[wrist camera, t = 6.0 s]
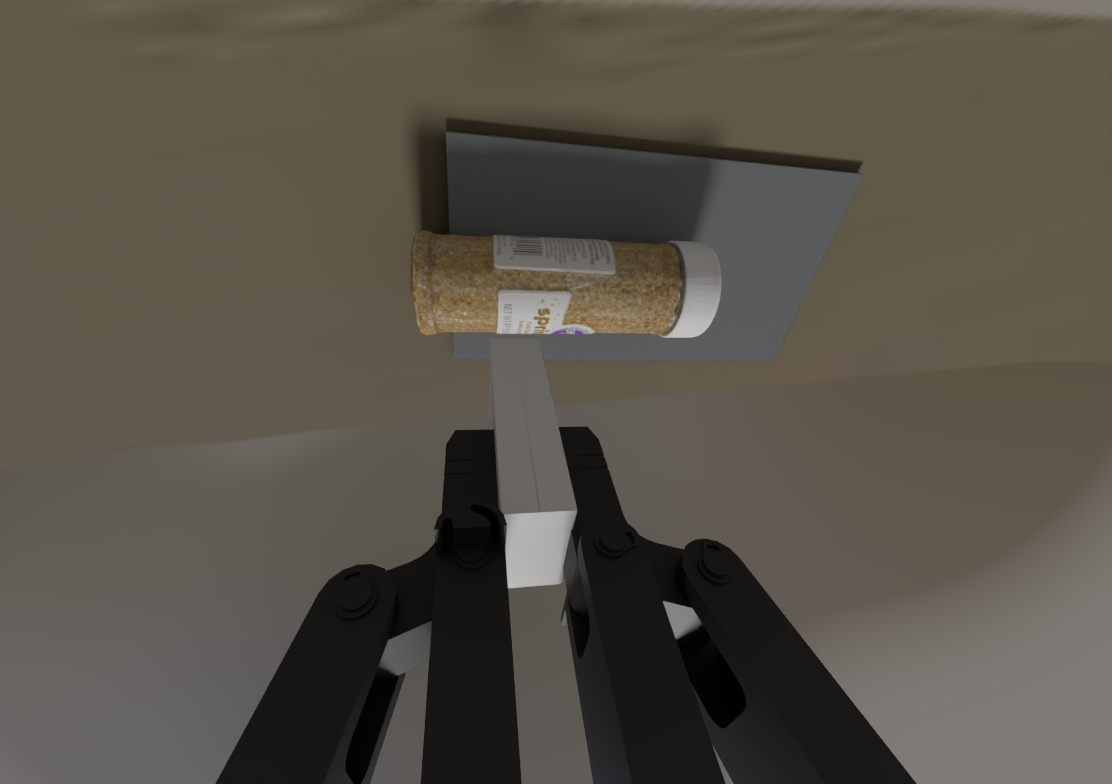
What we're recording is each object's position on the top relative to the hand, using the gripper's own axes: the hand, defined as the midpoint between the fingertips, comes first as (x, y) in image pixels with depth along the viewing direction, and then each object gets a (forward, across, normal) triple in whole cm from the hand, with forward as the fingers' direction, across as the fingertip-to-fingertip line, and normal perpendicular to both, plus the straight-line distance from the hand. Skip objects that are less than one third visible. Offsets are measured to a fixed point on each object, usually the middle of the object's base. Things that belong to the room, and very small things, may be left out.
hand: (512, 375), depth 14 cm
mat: (+10, +8, 0) cm, 12 cm away
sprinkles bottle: (+7, -4, 0) cm, 8 cm away
